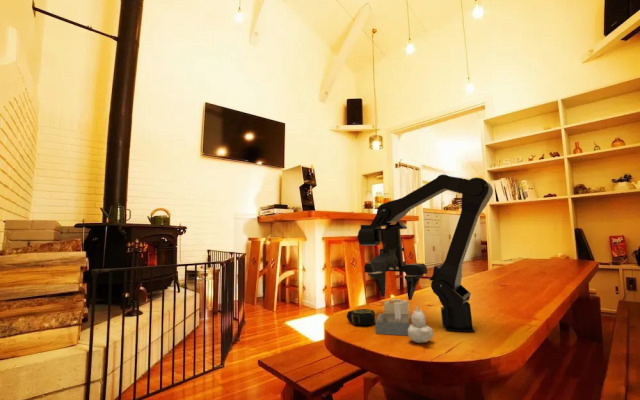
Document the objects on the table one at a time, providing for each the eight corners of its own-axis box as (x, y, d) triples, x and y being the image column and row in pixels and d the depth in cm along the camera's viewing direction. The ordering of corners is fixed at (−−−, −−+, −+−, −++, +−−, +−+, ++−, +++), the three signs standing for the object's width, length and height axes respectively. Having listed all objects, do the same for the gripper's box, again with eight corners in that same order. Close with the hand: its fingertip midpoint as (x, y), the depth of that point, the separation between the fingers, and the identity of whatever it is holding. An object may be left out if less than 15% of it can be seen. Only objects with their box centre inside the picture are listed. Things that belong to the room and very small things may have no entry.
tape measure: (367, 319, 85) (366, 306, 85) (380, 325, 78) (379, 311, 79) (347, 323, 82) (346, 309, 82) (359, 329, 76) (358, 314, 76)
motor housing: (409, 325, 76) (407, 298, 77) (409, 335, 69) (406, 305, 70) (379, 324, 79) (377, 298, 80) (376, 333, 71) (374, 304, 72)
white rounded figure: (426, 337, 67) (422, 302, 68) (440, 347, 61) (436, 308, 62) (404, 339, 67) (401, 303, 68) (416, 349, 60) (412, 310, 61)
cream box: (395, 315, 87) (394, 297, 87) (409, 318, 83) (408, 299, 84) (385, 319, 83) (383, 300, 84) (399, 322, 79) (397, 302, 80)
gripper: (351, 246, 87) (354, 299, 85) (404, 245, 74) (410, 307, 71) (373, 245, 95) (376, 293, 93) (425, 243, 81) (431, 300, 79)
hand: (396, 298), depth 84 cm, fingers open, 9 cm apart
